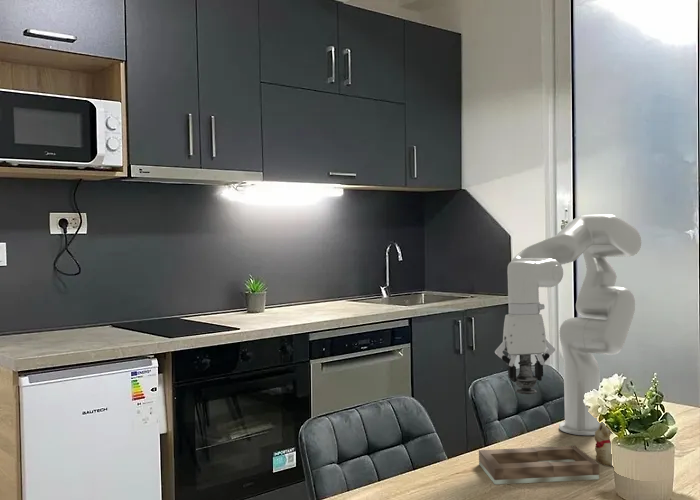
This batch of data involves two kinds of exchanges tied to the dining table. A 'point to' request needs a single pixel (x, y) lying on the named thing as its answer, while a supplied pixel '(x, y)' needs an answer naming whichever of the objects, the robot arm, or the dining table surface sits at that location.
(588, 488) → the dining table surface
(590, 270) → the robot arm
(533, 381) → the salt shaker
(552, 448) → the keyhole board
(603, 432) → the chocolate bunny
